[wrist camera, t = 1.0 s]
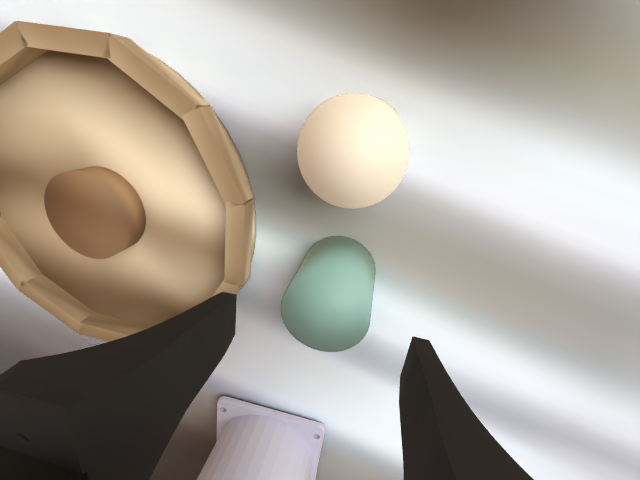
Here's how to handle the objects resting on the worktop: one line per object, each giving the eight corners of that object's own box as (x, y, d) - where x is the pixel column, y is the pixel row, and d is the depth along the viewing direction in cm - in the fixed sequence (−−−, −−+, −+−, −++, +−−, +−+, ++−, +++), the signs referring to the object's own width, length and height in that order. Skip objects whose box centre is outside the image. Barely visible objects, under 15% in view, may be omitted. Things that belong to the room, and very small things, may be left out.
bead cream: (394, 189, 16) (395, 217, 12) (316, 175, 17) (291, 198, 13) (414, 102, 15) (422, 102, 11) (327, 90, 15) (303, 85, 11)
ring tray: (248, 356, 23) (234, 381, 21) (22, 297, 25) (-11, 314, 23) (266, 57, 15) (247, 50, 13) (-55, 14, 18) (-112, 2, 16)
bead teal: (367, 306, 19) (360, 360, 15) (301, 291, 20) (277, 339, 16) (382, 244, 18) (378, 286, 14) (309, 229, 18) (284, 265, 14)
